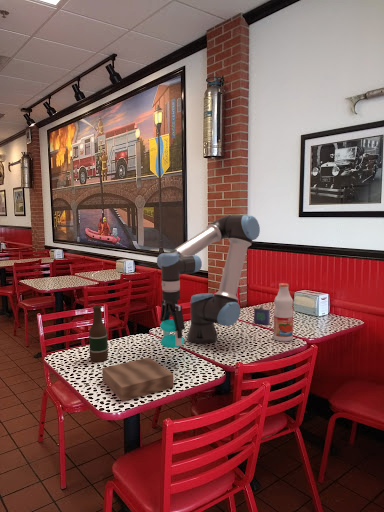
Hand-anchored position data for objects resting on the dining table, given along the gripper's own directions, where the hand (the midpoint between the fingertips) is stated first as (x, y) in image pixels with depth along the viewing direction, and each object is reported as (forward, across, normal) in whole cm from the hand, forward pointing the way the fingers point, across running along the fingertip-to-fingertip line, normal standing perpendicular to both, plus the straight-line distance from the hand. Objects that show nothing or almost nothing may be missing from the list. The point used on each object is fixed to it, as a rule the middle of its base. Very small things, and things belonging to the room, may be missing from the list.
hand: (172, 341), depth 167 cm
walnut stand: (+9, +11, -22) cm, 26 cm away
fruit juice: (+10, +3, +61) cm, 62 cm away
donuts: (+2, 0, 0) cm, 2 cm away
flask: (+11, -23, +70) cm, 75 cm away
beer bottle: (+9, -21, -26) cm, 34 cm away
